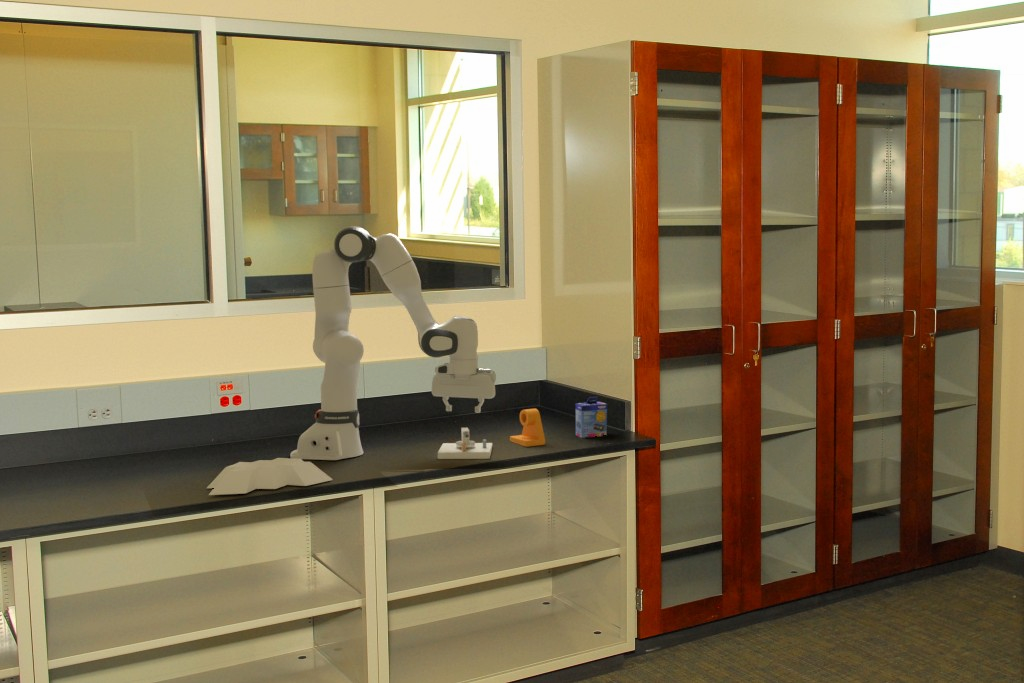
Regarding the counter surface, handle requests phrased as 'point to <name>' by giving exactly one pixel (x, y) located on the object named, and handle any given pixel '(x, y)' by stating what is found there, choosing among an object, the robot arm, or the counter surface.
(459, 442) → the knob
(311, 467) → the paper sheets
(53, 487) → the counter surface
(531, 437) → the bracket
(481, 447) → the dial plate
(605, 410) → the ink cartridge box
